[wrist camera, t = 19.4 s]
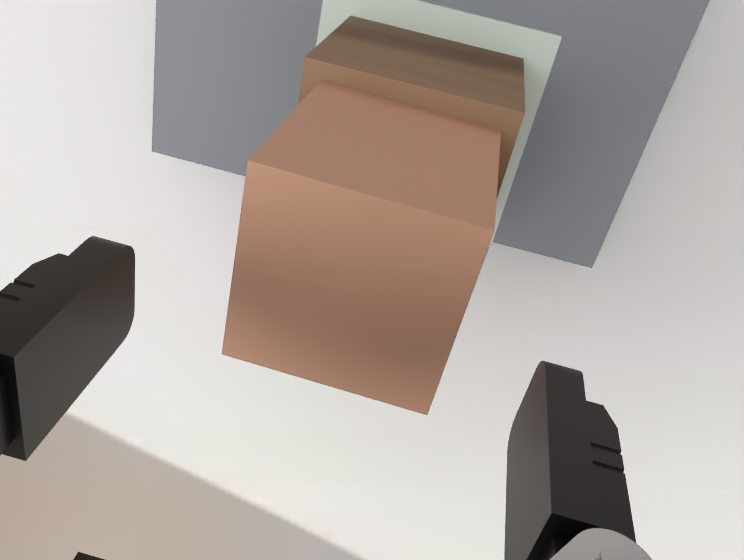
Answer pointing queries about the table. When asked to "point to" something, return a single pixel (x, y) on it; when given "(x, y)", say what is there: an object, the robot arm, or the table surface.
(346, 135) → the terracotta block
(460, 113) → the walnut block
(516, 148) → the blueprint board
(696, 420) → the table surface
